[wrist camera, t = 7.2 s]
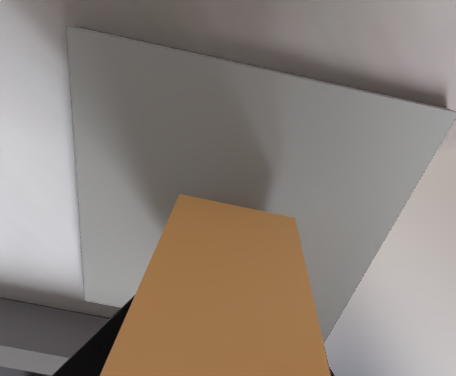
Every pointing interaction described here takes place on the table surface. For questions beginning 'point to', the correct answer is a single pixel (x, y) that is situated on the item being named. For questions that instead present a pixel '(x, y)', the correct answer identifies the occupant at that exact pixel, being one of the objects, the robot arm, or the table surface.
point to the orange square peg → (222, 299)
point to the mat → (236, 158)
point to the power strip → (40, 337)
